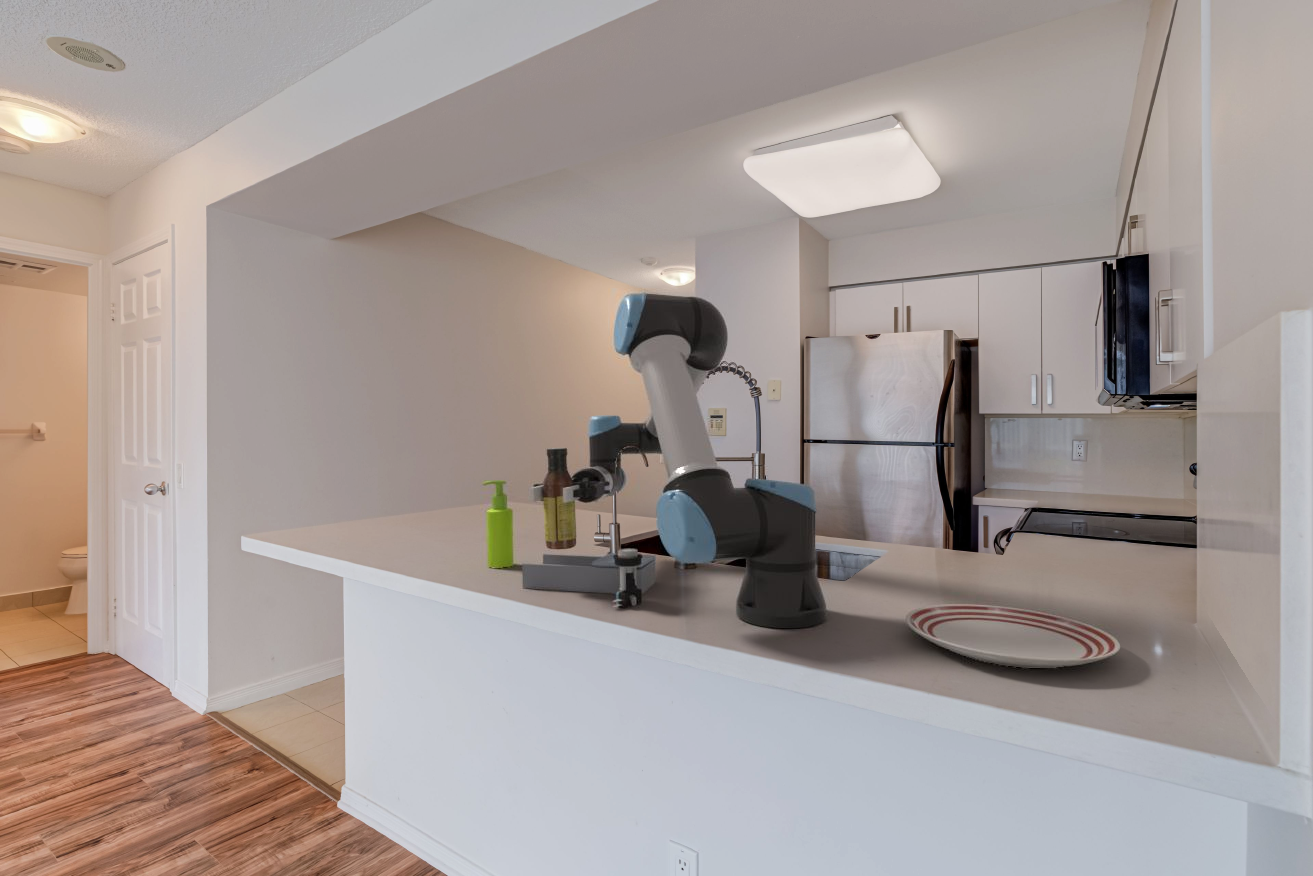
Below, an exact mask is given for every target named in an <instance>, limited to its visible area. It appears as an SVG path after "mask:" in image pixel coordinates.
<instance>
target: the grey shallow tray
mask: <svg viewBox="0 0 1313 876" xmlns="http://www.w3.org/2000/svg"><path fill="white" fill-rule="evenodd" d="M603 556H604V555H602V556H601V555H585V554H584V555H582V554H579V555H577V554H562V553H561V554H559V553H557V554H556V553H543V554H542V563H529V562H528V563H526V562H523V563H522V568H521V569H522V570H521V571H522V573H521V575H522V576H521V577H522V589H529V590H530V589H532V590H548V591H549V590H551V591H565V592H566V591H567V592H579V593H580V592H581V593H582V592H583V593H584V592H585V593H598V594H614V595H616V593H617V592H619V591H620V590H619V588H620V568H619V566H602V565H592V562H593V561H595V560H597V559H599V558H601V557H603ZM656 563H657V561H656V558H655V559H654V560H652V561H650V562H649V563H647V564H646V565H644V566H642V567H636V584H637V588H638V589H641V590H642V595H643V594H645V593H646V592H647V590H649V589H650V588H651V587H653V586H654V584H655V583H657V579H656V577H657V576H656V574H657V571H656V567H657V566H656Z"/></svg>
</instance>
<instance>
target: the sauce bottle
mask: <svg viewBox="0 0 1313 876" xmlns="http://www.w3.org/2000/svg"><path fill="white" fill-rule="evenodd" d="M567 448H568V447H549V448H546V456H547V466H548V467H547V473H546V475H545V476H544V479H543V482H542V483H543V493H544V496H543V501H542V503H543V505H542V506H543V523H544V526H543V528H544V542H545V546H546V548H547V549H549V550H568V549H572V548H575V547H576V546H577V522H576V520H577V519H576V518H577V517H576V500H574V501H570V502H567V503H565V502H563V488H566V487H570V486H573V480H572V476H571V474H570V473H569V471H568V459H567V456H568V449H567Z"/></svg>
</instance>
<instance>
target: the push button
mask: <svg viewBox="0 0 1313 876" xmlns="http://www.w3.org/2000/svg"><path fill="white" fill-rule="evenodd" d="M615 554H616V555H614V556H613V558H614V559H615V565H617V566H619V568H620V588H619V590H620V591H619V592H617V593H616V594H615V597H616V598H615V599H614V600H612V603H613V602H614V603H616V604H615V605H613V606H612V607H613V608H617V607H618V608H622V609H627V608H628V607H629V608H630V607H632V606H633V607H634V606H637V605H641V604H642V601H643V600H642V599H643V597H642V596H643V594H642V590H641V589H638V588H637V584H636V567H638V565H640V564H641V559H642V558H643V555H644V554H641V553H638V549H637V548H630V547H629V548H628V547H627V548H621V549H618V550H617V553H615Z"/></svg>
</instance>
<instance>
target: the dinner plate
mask: <svg viewBox="0 0 1313 876" xmlns="http://www.w3.org/2000/svg"><path fill="white" fill-rule="evenodd" d="M905 623H906V625H907V626H908V627H909V628H910V629H911V630H912V631H913V632H915V633H916V634H917V635H920V637H922V638H924V639H926V640H927V641H929V642H930V643H934V644H935V645H937V646H939V647H942V648H943V649H946V650H948V649H949V651H950V652H952V653H954V652H955V654H956V653H957V654H956V655H959V654H960V655H959V656H961V655H962V657H964V656H966V657H965V658H967V657H969V658H968V659H970V658H972V659H971V660H973V659H975V660H974V661H977V660H979V661H978V662H981V661H984V662H983V663H986V662H989V663H988V664H990V663H995V664H994V665H996V664H999V665H998V666H1001V665H1006V666H1005V667H1008V666H1013V667H1012V668H1016V667H1021V668H1020V669H1029V668H1053V669H1056V668H1055V667H1062V668H1064V667H1063V666H1067V667H1072V666H1080V665H1087V664H1090V663H1091V664H1092V663H1094V662H1099V661H1102V660H1104V659H1107V658H1109V657H1111V656H1113V655H1115V654H1118V652H1119V651H1120V649H1121V644H1120V642H1119V641H1118V639H1117V638H1116V637H1115V636H1113V635H1111V634H1110V633H1108V632H1107V631H1104V630H1102V629H1100V628H1098V627H1095V626H1093V625H1090V624H1087V623H1084V622H1081V621H1079V620H1075V619H1071V618H1068V617H1064V616H1060V615H1055V614H1050V613H1046V612H1042V611H1041V612H1040V611H1035V610H1032V609H1031V610H1030V609H1024V608H1018V607H1017V608H1016V607H1010V606H1009V607H1008V606H998V605H991V604H990V605H989V604H987V605H986V604H969V603H965V604H964V603H948V604H947V603H945V604H944V603H943V604H936V605H934V604H933V605H929V606H922V607H918V608H916V609H913V610H911V611H909V612H908V613H907V614H906V615H905Z"/></svg>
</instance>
